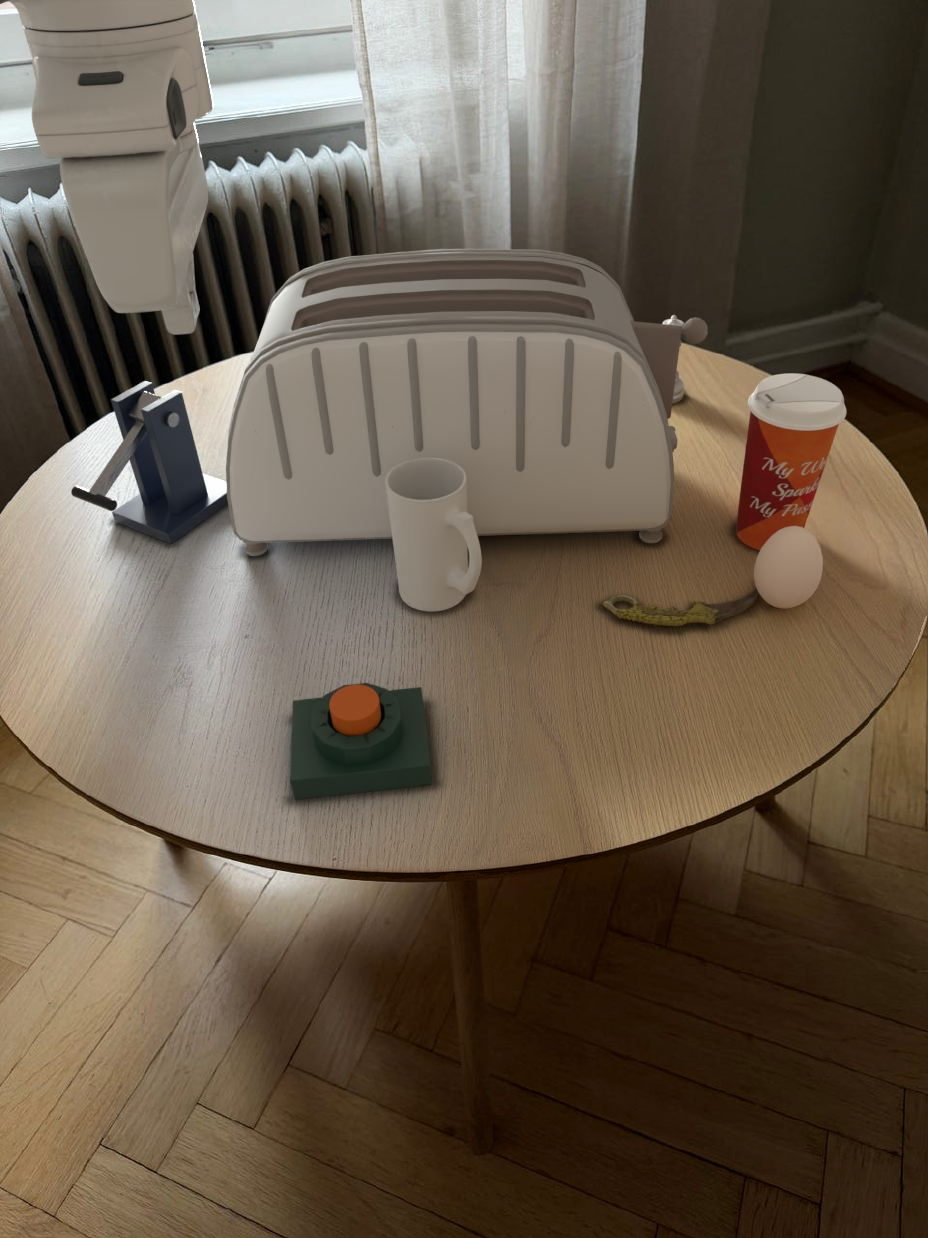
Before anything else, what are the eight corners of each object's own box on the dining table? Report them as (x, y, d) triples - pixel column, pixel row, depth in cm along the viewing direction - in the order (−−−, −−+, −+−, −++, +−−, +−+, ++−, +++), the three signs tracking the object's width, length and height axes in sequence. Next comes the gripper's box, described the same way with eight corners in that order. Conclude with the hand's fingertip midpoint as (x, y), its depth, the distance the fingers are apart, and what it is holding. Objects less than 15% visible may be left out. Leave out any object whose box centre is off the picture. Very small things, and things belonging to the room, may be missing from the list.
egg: (801, 582, 83) (820, 509, 78) (820, 622, 79) (842, 547, 74) (740, 584, 83) (756, 512, 78) (756, 624, 79) (774, 550, 74)
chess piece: (689, 393, 111) (701, 313, 104) (671, 408, 108) (682, 326, 102) (657, 384, 113) (666, 304, 106) (639, 397, 110) (647, 317, 104)
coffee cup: (750, 566, 85) (781, 421, 75) (709, 518, 91) (733, 378, 81) (830, 550, 87) (871, 405, 77) (785, 503, 93) (817, 364, 83)
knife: (759, 577, 82) (780, 610, 78) (757, 586, 83) (778, 618, 79) (600, 593, 82) (614, 627, 78) (600, 601, 82) (613, 635, 78)
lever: (117, 516, 86) (101, 503, 84) (80, 502, 88) (64, 489, 86) (184, 414, 89) (170, 399, 87) (147, 403, 91) (133, 387, 89)
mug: (381, 588, 85) (368, 476, 77) (438, 558, 88) (432, 448, 80) (450, 643, 79) (444, 528, 71) (509, 609, 82) (509, 495, 74)
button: (332, 739, 66) (329, 722, 65) (331, 703, 69) (329, 686, 68) (382, 734, 66) (380, 717, 65) (380, 698, 69) (377, 681, 68)
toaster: (705, 552, 87) (745, 323, 72) (233, 567, 88) (178, 343, 73) (666, 437, 103) (691, 231, 89) (267, 451, 104) (228, 248, 89)
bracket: (171, 544, 91) (136, 428, 83) (114, 521, 94) (76, 408, 86) (239, 494, 97) (214, 383, 89) (184, 475, 101) (154, 366, 92)
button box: (294, 800, 66) (285, 764, 64) (296, 719, 72) (288, 683, 70) (432, 784, 67) (429, 748, 64) (423, 706, 73) (420, 669, 71)
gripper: (101, 49, 58) (157, 270, 67) (21, 129, 42) (107, 402, 51) (203, 43, 58) (244, 263, 67) (160, 120, 43) (221, 393, 52)
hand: (185, 325), depth 59 cm, fingers closed
